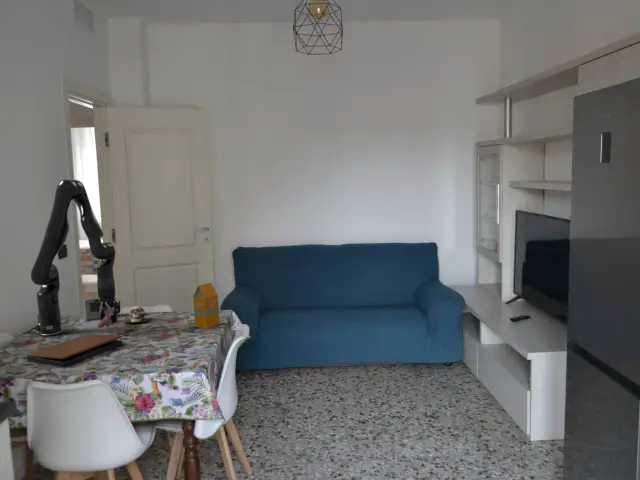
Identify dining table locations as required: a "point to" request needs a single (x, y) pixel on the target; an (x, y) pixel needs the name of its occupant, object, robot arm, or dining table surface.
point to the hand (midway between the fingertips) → (108, 321)
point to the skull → (137, 315)
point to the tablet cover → (74, 346)
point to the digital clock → (92, 309)
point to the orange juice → (206, 306)
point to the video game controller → (106, 321)
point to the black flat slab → (77, 355)
